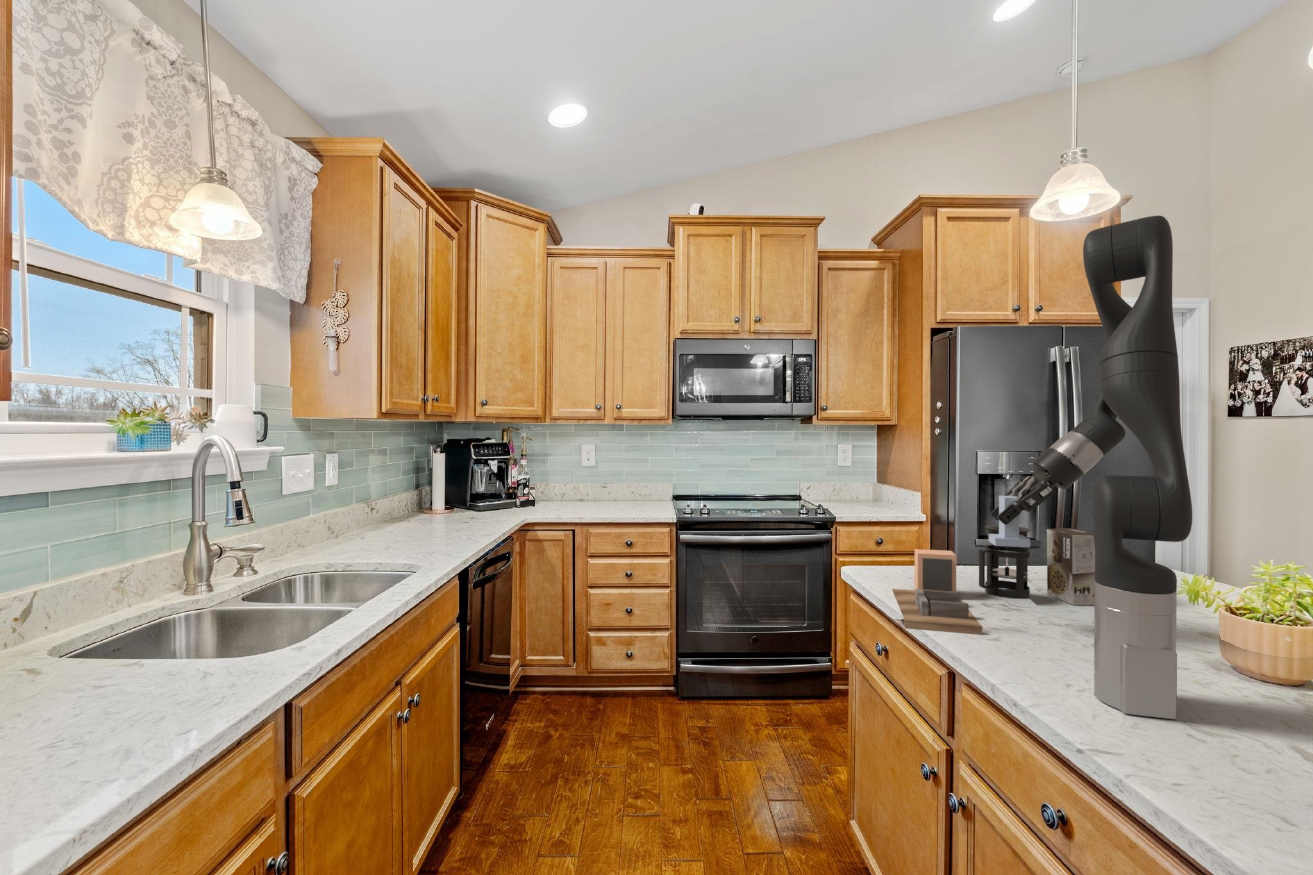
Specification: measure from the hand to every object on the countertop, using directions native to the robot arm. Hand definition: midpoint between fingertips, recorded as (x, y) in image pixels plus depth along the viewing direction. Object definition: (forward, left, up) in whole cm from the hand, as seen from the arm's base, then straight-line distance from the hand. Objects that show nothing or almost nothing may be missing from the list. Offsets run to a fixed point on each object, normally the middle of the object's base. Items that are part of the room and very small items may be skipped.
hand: (997, 519), depth 116 cm
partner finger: (+16, +9, -20) cm, 27 cm away
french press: (+22, -7, -22) cm, 32 cm away
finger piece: (0, -2, -5) cm, 5 cm away
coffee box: (+26, -22, -22) cm, 40 cm away
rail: (+7, +11, -22) cm, 25 cm away
